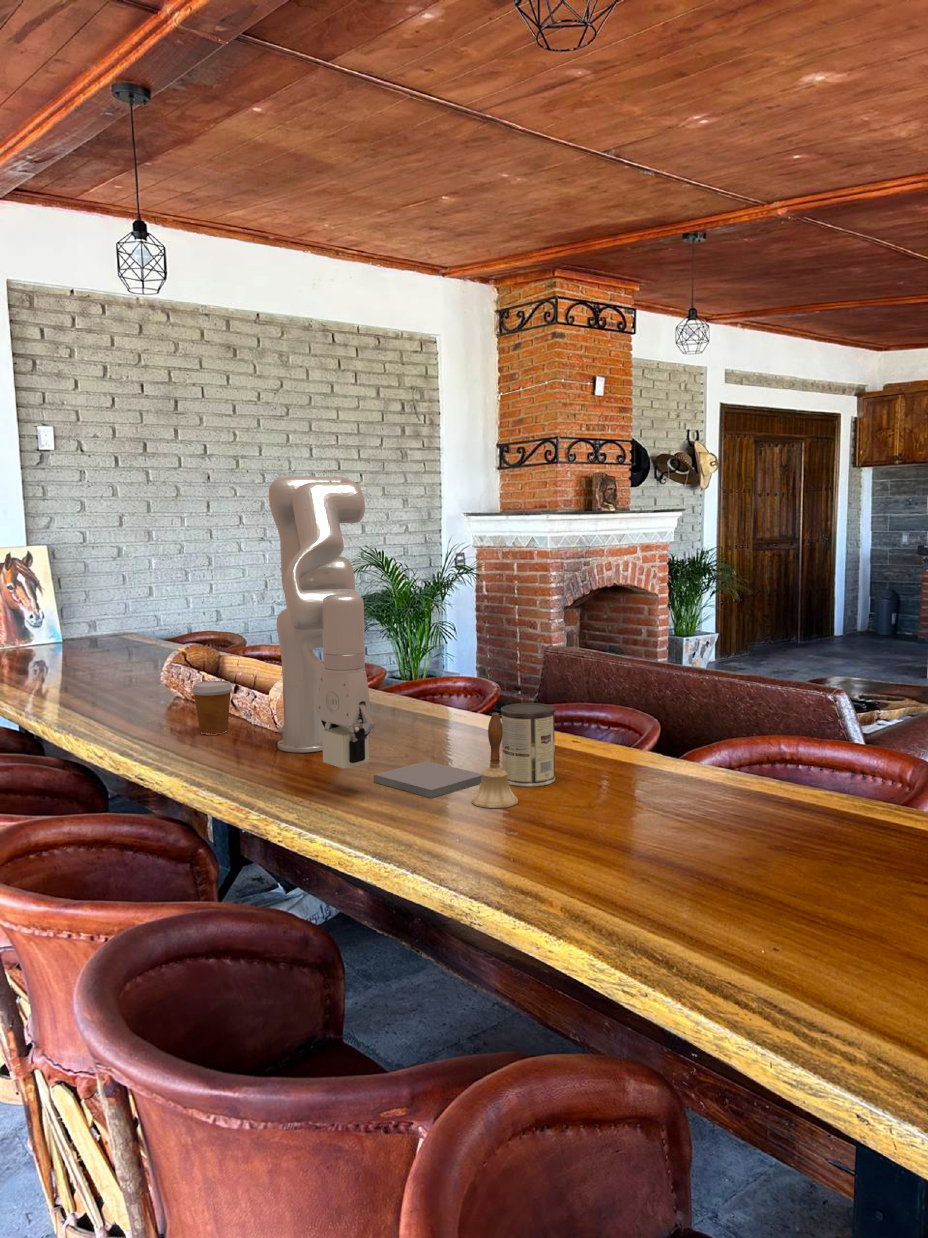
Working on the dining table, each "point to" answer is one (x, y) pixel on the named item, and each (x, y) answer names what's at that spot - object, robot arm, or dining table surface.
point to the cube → (340, 747)
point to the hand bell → (495, 774)
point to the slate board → (428, 779)
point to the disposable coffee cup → (212, 705)
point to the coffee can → (528, 744)
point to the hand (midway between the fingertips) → (345, 757)
